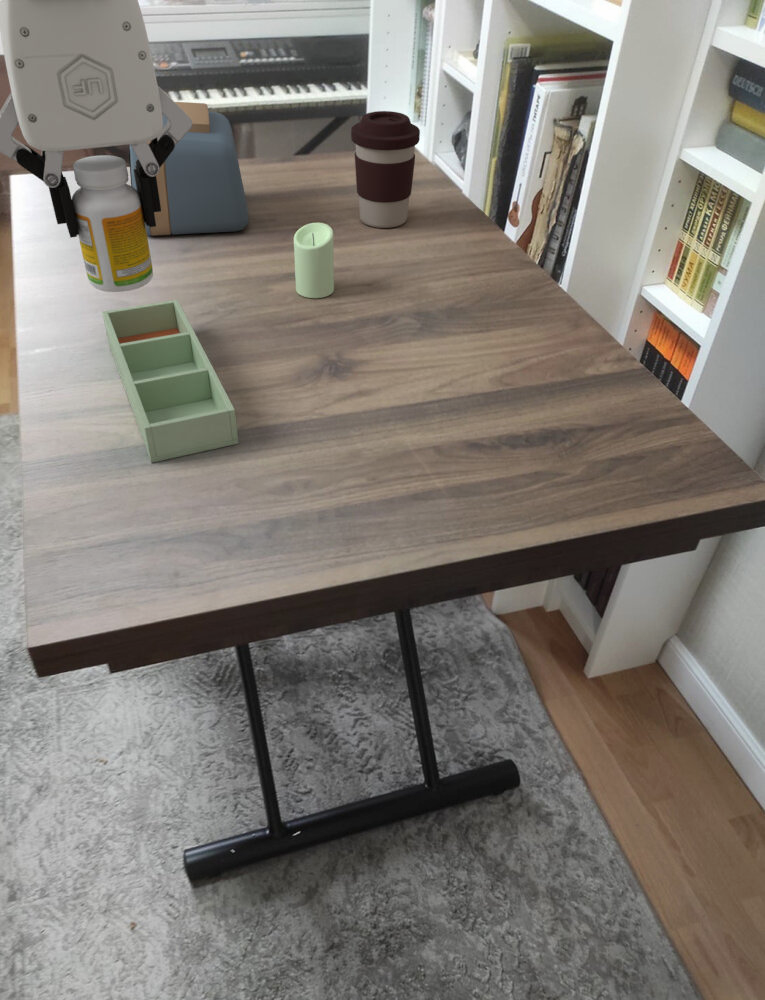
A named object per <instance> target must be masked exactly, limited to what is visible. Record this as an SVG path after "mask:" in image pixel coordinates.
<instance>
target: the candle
mask: <svg viewBox="0 0 765 1000" xmlns="http://www.w3.org/2000/svg"><path fill="white" fill-rule="evenodd" d="M334 254H335V253H334V230H333V229H332V227H331V226H330V225H328V224H327V223H324V222H312V223H307V224H305V225H303V226H302V227H300V228H298V230H297V231H296V232H295V234H294V235H293V255H294V276H295V278H294V279H295V292H296V293H297V294H298V295H299V296H301V297H303V298H306V299H323V298H326V297H329V296H331V295H332V294H333V293H334V291H335V267H334V266H335V262H334V261H335V258H334Z"/></svg>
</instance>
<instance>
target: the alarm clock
mask: <svg viewBox="0 0 765 1000" xmlns="http://www.w3.org/2000/svg"><path fill="white" fill-rule="evenodd" d="M174 102H175V103H176V104H177V105H178V106H179V107H180V108H181V109H182V110H183V111H184V112H185V113H186V114H187V115H188V116H189V117H190V119H191V120H192V123H193V124H192V127H191V129H190V130H189V131H188V132H187V133H186V135H185V136H184V137H183V138H182V139H181V140H180V141H179V142H178V143H177V144H176V145H175V147H174V150H173V151H172V152H171V154H170V155H169V156H168V158H167V159H166V160H165V162H164V163H163V164H162V166H161V167H160V171H159V173H158V175H156V179H157V185H158V192H159V199H160V205H161V212H154V215H155V221H156V227H149V226H147V225H146V223H145V227H146V233H147V236H151V237H152V236H153V237H154V236H171V235H188V234H190V235H193V234H210V233H227V232H228V233H229V232H232V233H233V232H239V231H242V230H244V229H245V228H246V226H247V225H248V224H249V217H250V214H249V209H248V203H247V200H246V199H247V198H246V194H245V189H244V184H243V178H242V174H241V168H240V163H239V157H238V153H237V148H236V143H235V142H236V141H235V138H234V133H233V129H232V126H231V123H230V120H229V119H228V118H227V117H226V116H225V115H224V114H222V113H220V112H216V111H209V106H208V104H207V103H204V102H187V101H174ZM162 116H163V128H164V126H165V125H166V124H167V121H168V119H167V117H166V116H165V115H164V114H163V113H162ZM151 141H152V140H150V141H147V143H148V145H149V144H150V142H151ZM128 159H129V174H130V186H132V187H133V188H135V189H136V190H137V188H136V182H135V176H134V169H136V168H135V166H136V161H137V160H138V158H137V156H136V154H135V152H134V150H133V149H132V147H131V145H130V144H128Z"/></svg>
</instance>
